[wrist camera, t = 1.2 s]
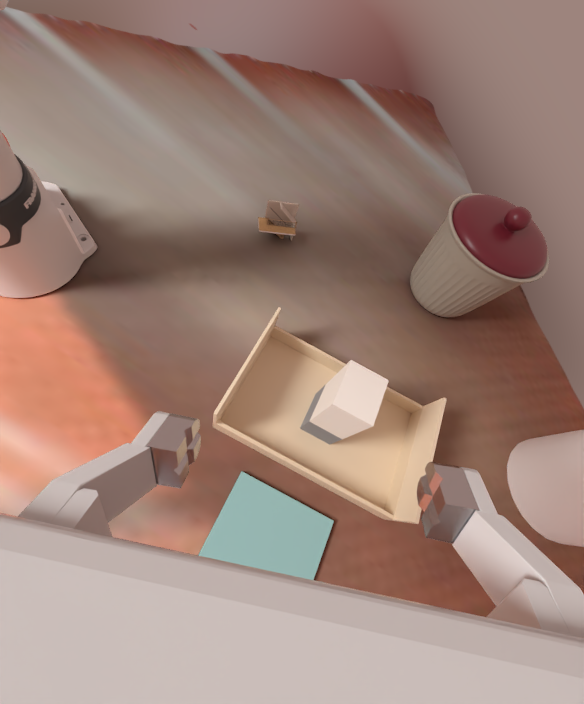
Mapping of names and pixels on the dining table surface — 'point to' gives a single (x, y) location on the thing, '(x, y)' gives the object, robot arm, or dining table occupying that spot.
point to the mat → (268, 531)
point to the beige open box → (316, 455)
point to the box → (345, 404)
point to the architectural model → (279, 219)
